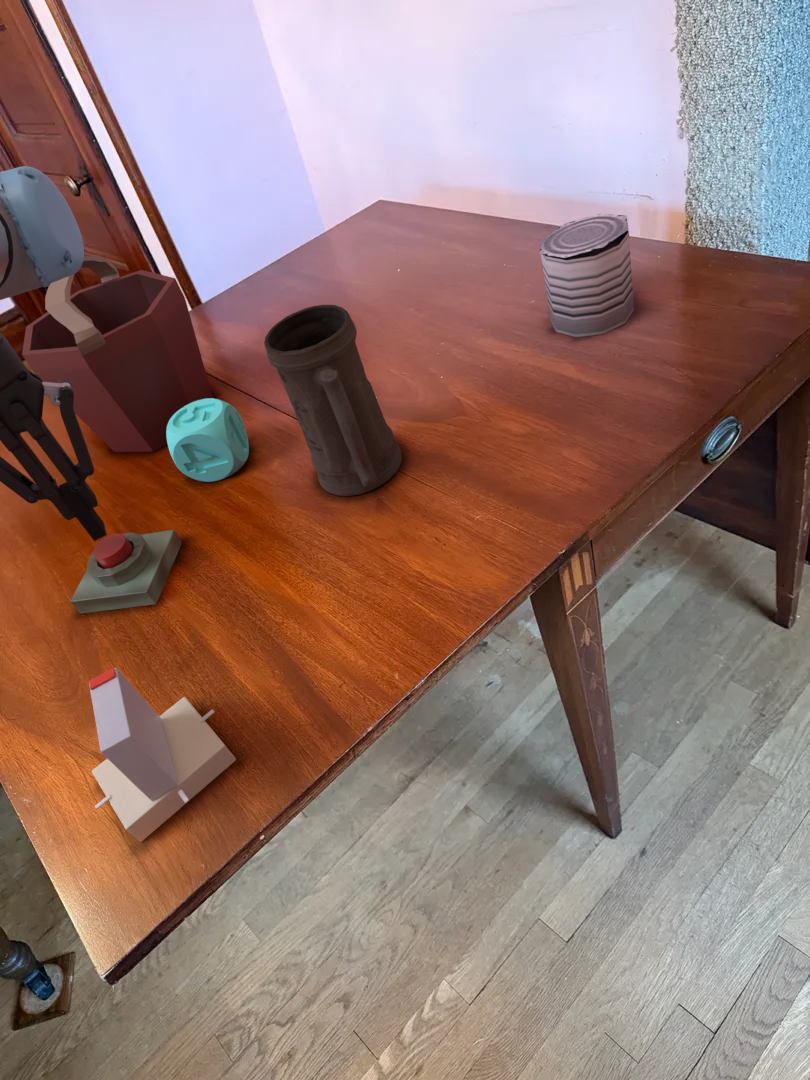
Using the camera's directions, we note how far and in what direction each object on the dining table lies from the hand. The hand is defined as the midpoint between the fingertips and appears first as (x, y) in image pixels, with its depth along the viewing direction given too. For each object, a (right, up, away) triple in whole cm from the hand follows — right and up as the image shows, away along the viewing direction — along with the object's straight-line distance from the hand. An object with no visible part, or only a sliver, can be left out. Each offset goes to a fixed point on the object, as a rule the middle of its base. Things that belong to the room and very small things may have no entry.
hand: (99, 531), depth 84 cm
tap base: (+13, -22, -17) cm, 31 cm away
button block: (+2, -5, +5) cm, 8 cm away
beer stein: (+30, +7, +7) cm, 31 cm away
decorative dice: (+9, +9, +18) cm, 22 cm away
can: (+60, +30, +20) cm, 70 cm away
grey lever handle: (+13, -20, -19) cm, 30 cm away
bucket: (-4, +17, +31) cm, 36 cm away
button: (+1, -3, +3) cm, 4 cm away
